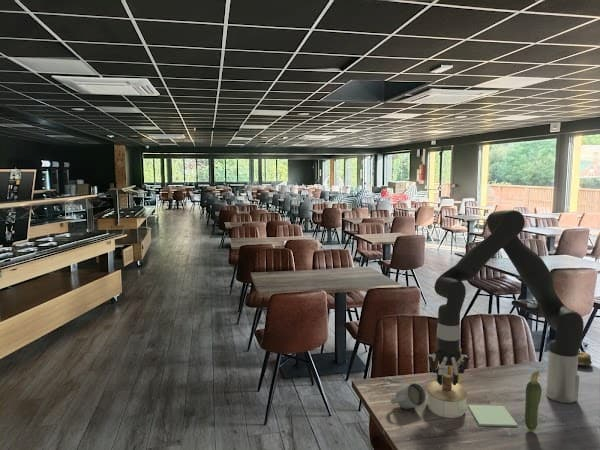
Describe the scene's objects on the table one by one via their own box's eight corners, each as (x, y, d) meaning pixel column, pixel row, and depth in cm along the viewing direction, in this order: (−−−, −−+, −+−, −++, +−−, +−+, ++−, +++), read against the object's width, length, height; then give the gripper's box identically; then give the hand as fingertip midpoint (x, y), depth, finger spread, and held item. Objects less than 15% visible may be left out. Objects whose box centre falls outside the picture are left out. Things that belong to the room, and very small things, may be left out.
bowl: (458, 400, 162) (459, 384, 161) (469, 418, 150) (469, 401, 149) (424, 399, 162) (425, 383, 162) (432, 417, 151) (432, 400, 150)
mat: (503, 407, 157) (503, 405, 157) (517, 426, 145) (517, 424, 145) (468, 406, 158) (468, 404, 158) (479, 425, 146) (479, 423, 146)
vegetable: (521, 427, 145) (524, 367, 142) (533, 426, 145) (537, 366, 143) (529, 434, 140) (532, 373, 138) (542, 434, 141) (545, 372, 138)
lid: (460, 384, 161) (461, 368, 161) (472, 402, 149) (472, 385, 148) (423, 383, 162) (424, 368, 162) (431, 401, 149) (432, 384, 149)
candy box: (451, 383, 175) (452, 345, 173) (461, 387, 172) (462, 348, 170) (437, 390, 170) (438, 351, 168) (447, 394, 166) (449, 354, 165)
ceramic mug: (411, 411, 158) (412, 388, 162) (426, 408, 151) (426, 385, 155) (385, 404, 155) (386, 381, 159) (399, 402, 148) (399, 378, 152)
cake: (596, 367, 190) (597, 354, 189) (572, 366, 190) (573, 354, 189) (583, 357, 199) (584, 345, 199) (560, 357, 200) (560, 345, 199)
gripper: (466, 332, 156) (464, 379, 158) (424, 331, 157) (423, 378, 159) (473, 340, 149) (471, 389, 151) (429, 339, 150) (428, 388, 152)
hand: (446, 383), depth 155 cm, fingers open, 4 cm apart
